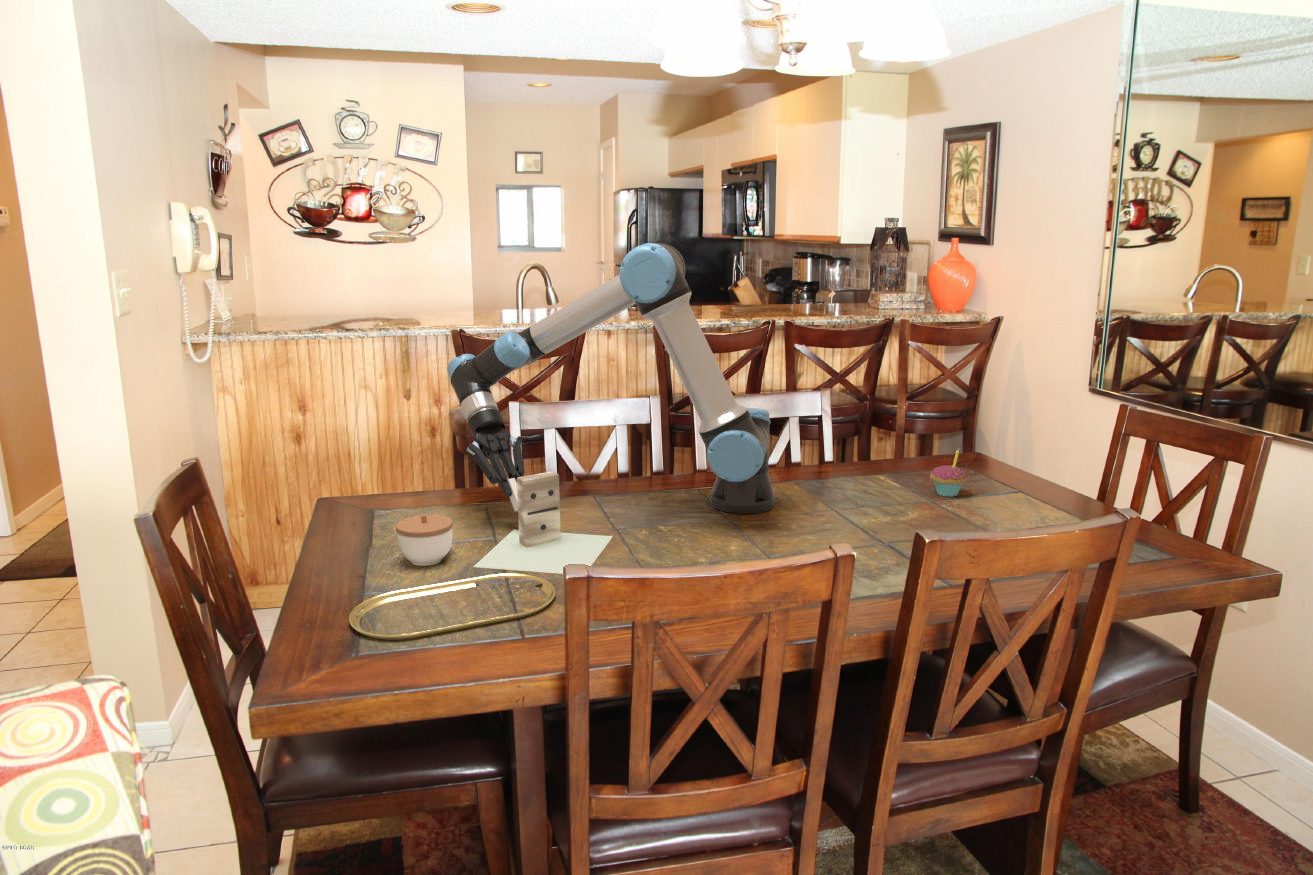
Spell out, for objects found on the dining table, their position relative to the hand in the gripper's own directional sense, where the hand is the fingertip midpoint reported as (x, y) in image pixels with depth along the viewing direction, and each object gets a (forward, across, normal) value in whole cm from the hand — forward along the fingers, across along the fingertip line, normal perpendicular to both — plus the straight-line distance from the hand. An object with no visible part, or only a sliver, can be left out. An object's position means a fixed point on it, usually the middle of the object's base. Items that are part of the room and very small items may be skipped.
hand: (520, 507), depth 190 cm
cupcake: (+29, -98, +20) cm, 104 cm away
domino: (+9, 0, +2) cm, 9 cm away
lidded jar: (+7, +22, -2) cm, 23 cm away
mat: (+14, +1, +5) cm, 15 cm away
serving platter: (+24, +26, +15) cm, 39 cm away
